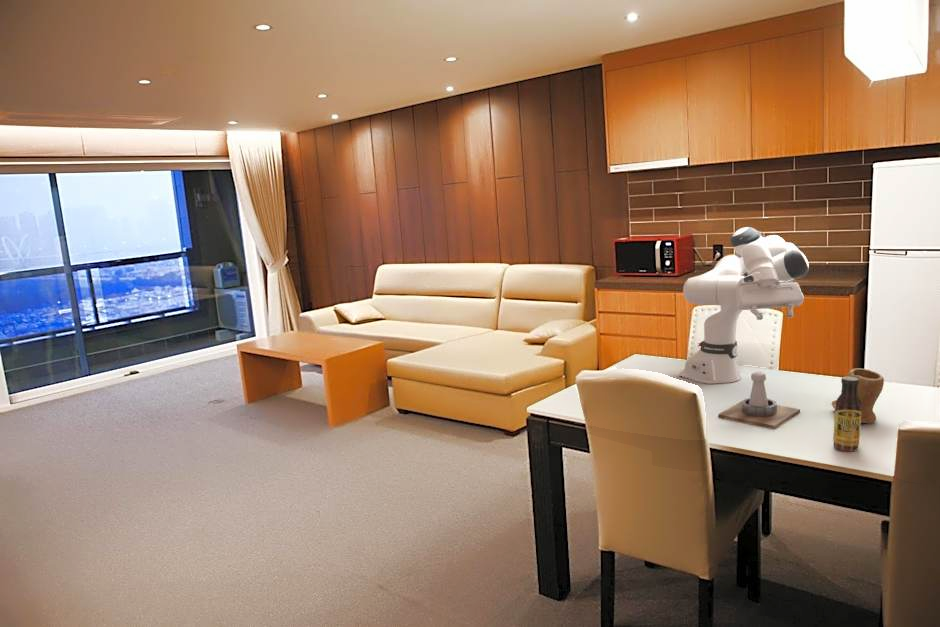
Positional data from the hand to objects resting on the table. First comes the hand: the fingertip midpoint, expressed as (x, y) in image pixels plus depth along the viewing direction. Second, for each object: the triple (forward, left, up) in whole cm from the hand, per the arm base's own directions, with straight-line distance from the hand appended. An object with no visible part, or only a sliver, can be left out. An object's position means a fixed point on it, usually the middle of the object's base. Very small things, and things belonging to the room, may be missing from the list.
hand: (775, 317), depth 215 cm
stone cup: (+23, +4, -30) cm, 38 cm away
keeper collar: (-1, -10, -30) cm, 31 cm away
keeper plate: (-1, -10, -30) cm, 31 cm away
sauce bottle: (+29, -22, -30) cm, 47 cm away
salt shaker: (0, -11, -29) cm, 31 cm away
